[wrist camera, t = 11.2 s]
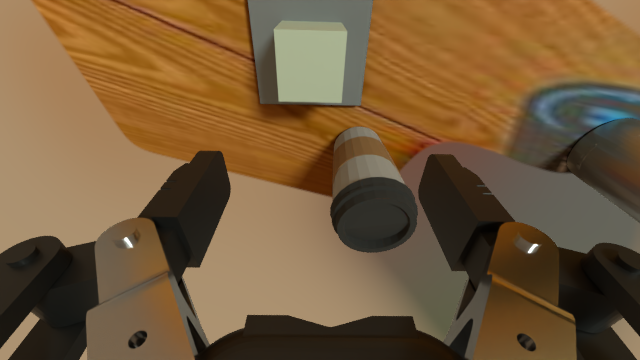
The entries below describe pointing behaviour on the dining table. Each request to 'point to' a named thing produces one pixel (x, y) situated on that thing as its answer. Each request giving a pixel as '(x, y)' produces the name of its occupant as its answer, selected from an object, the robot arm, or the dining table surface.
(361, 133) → the coffee cup
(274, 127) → the dining table surface
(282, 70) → the sage block
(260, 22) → the slate board
